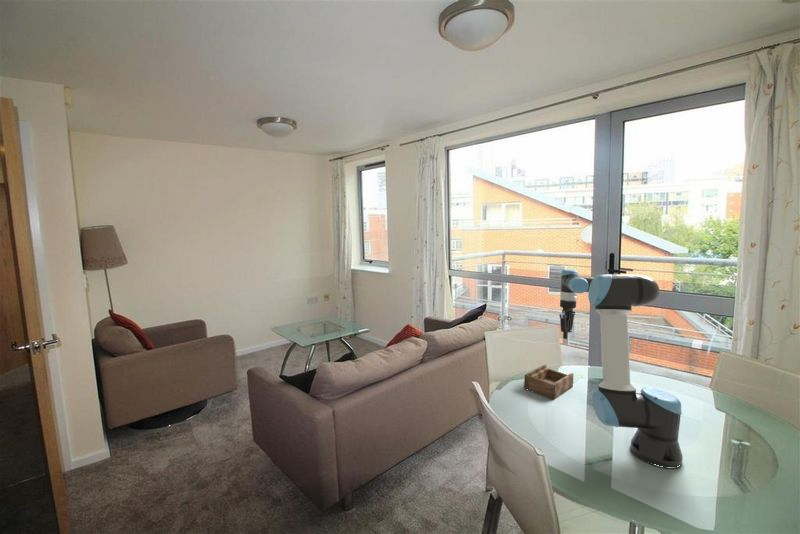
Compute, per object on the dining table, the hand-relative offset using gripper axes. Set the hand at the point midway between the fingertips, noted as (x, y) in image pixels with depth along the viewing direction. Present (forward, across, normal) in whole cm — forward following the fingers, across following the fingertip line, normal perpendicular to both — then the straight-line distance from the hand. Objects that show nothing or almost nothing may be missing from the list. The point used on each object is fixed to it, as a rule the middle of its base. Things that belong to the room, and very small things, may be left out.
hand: (565, 344), depth 187 cm
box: (+19, -16, 0) cm, 25 cm away
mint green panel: (+19, +3, +1) cm, 20 cm away
